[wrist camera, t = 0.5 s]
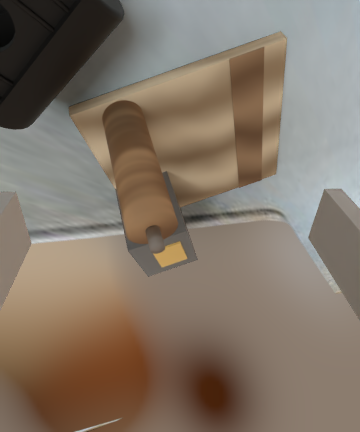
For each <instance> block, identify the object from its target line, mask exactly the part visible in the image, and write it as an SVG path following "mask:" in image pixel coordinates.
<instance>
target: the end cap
mask: <svg viewBox="0 0 360 432" xmlns="http://www.w3.org/2000/svg"><path fill="white" fill-rule="evenodd" d="M123 17H124V10H123V7H122V5H121V3H120V1H119V0H0V127H3V128H7V129H24V128H27V127H29V126H30V125H31V124H33V123H34V121H35V120H36V119H37V118H38V117H39V116H40V114H41V113H42V112H43V111H44V110H45V109H46V108H47V106H48V105H49V104H50V103H51V102H52V101H53V99H54V98H55V97H56V96H57V95H58V94H59V93H60V91H61V90H62V89H63V88H64V87H65V86H66V84H67V83H68V82H69V81H70V80H71V79H72V77H73V76H74V75H75V74H76V73H77V72H78V71H79V69H80V68H81V67H82V66H83V65H84V64H85V62H86V61H87V60H88V59H89V58H90V57H91V56H92V54H93V53H94V52H95V51H96V50H97V49H98V47H99V46H100V45H101V44H102V43H103V42H104V41H105V39H106V38H107V37H108V36H109V35H110V34H111V32H112V31H113V30H114V29H115V28H116V27H117V25H118V24H119V23H120V22H121V21H122V20H123Z"/></svg>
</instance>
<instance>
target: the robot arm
mask: <svg viewBox="0 0 360 432" xmlns="http://www.w3.org/2000/svg"><path fill="white" fill-rule="evenodd" d="M308 238H309V240H310V241H311V243H312V244H313V246H314V248H315V249H316V251H317V253H318V254H319V256H320V257H321V259H322V261H323V262H324V264H325V265H326V267H327V269H328V270H329V272H330V274H331V275H332V277H333V278H334V280H335V282H336V283H337V285H338V286H339V288H340V290H341V291H342V293H343V294H344V296H345V298H346V299H347V301H348V303H349V304H350V306H351V307H352V309H353V311H354V312H355V314H356V316H357V317H358V319H359V320H360V209H359V207H358V206H357V205H356V204H355V203H354V202H353V201H352V200H351V199H350V198H349V197H348V196H347V195H346V193H345V192H344V191H343V190H342V189H324V192H323V195H322V198H321V201H320V204H319V207H318V210H317V213H316V216H315V219H314V222H313V225H312V228H311V231H310V234H309V237H308ZM30 246H31V240H30V237H29V234H28V230H27V227H26V224H25V220H24V217H23V214H22V210H21V207H20V204H19V200H18V197H17V194H16V192H0V310H1V308H2V305H3V303H4V301H5V299H6V297H7V295H8V293H9V290H10V288H11V286H12V284H13V282H14V280H15V277H16V276H17V273H18V271H19V269H20V267H21V265H22V263H23V261H24V258H25V256H26V254H27V252H28V250H29V247H30Z"/></svg>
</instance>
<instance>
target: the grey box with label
mask: <svg viewBox="0 0 360 432" xmlns="http://www.w3.org/2000/svg"><path fill="white" fill-rule="evenodd" d="M162 174H163V177H164V180H165V183H166V187H167V190H168V193H169V196H170V199H171V202H172V205H173V208H174V211H175V215H176V218H177V221H178V227H177V229H176V231H175V232H174V233H173V234H172V235H171V236H169V237H168V238H166V239H164V240H163V242H164V245H165V250H164V251H163V252H161V253H157V254H153V253H151V252H150V248H149V244H138V243H134V242H132V241H130V240H129V239H128V238H127V236H126V232H125V227H124V222H123V217H122V212H121V208H120V203H119V198H118V193H117V189H115V190H116V194H117V199H118V204H119V209H120V214H121V219H122V224H123V229H124V234H125V238H126V243H127V248H128V252H129V253H130V254H131V255H132V257H133V258H134V259H135V260H136V262H137V263H138V264H139V266H140V267H141V268H142V269H143V271H144V272H145V273H146V274H147V276H148V277H149V276H152V275H154V274H157V273H160V272H163V271H166V270H169V269H172V268H175V267H178V266H181V265H183V264H187V263H190V262H192V261H195V260H197V257H196V253H195V250H194V248H193V245H192V241H191V238H190V235H189V233H188V229H187V226H186V223H185V220H184V217H183V215H182V212H181V209H180V206H179V203H178V200H177V197H176V195H175V192H174V189H173V187H172V184H171V181H170V178H169V176H168V173H167V171H165V172H163V173H162Z"/></svg>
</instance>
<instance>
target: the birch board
mask: <svg viewBox="0 0 360 432" xmlns="http://www.w3.org/2000/svg"><path fill="white" fill-rule="evenodd" d="M286 46H287V38H286V37H285V35H284V34H283V33H282V32H281V31H280V32H277V33H275V34H272V35H269V36H266V37H263V38H261V39H258V40H255V41H252V42H249V43H247V44H244V45H241V46H238V47H235V48H233V49H230V50H227V51H224V52H221V53H219V54H216V55H213V56H210V57H207V58H205V59H202V60H199V61H196V62H193V63H191V64H188V65H185V66H182V67H179V68H177V69H174V70H171V71H168V72H165V73H162V74H160V75H157V76H154V77H151V78H148V79H146V80H143V81H140V82H137V83H134V84H132V85H129V86H126V87H123V88H120V89H118V90H115V91H112V92H109V93H106V94H104V95H101V96H98V97H95V98H92V99H90V100H87V101H84V102H81V103H78V104H76V105H73V106H70V107H69V115H70V117H71V119H72V120H73V122H74V124H75V125H76V127H77V128H78V130H79V132H80V133H81V135H82V136H83V138H84V140H85V141H86V143H87V144H88V146H89V148H90V149H91V151H92V152H93V154H94V156H95V157H96V159H97V160H98V162H99V164H100V165H101V167H102V168H103V170H104V172H105V173H106V175H107V176H108V178H109V180H110V181H111V183H112V184H113V186H114V188H115V189H117V188H116V183H115V179H114V174H113V169H112V164H111V159H110V155H109V150H108V145H107V140H106V135H105V130H104V126H103V121H102V116H103V113H104V111H105V109H106V108H107V107H108V106H109V105H110V104H112V103H114V102H116V101H121V100H127V101H132V102H134V103H136V104H137V105H138V106H139V107H140V108H141V109H142V112H143V115H144V118H145V121H146V124H147V127H148V130H149V134H150V137H151V140H152V143H153V146H154V149H155V152H156V155H157V158H158V162H159V165H160V168H161V171H162V173H163V172H165V171H167V173H168V176H169V178H170V181H171V184H172V187H173V189H174V192H175V195H176V197H177V200H178V203H179V206H180V207H183V206H186V205H189V204H191V203H194V202H197V201H200V200H203V199H206V198H209V197H212V196H215V195H217V194H220V193H223V192H226V191H229V190H232V189H235V188H238V187H239V188H240V187H243V186H245V185H248V184H251V183H254V182H257V181H260V180H262V179H264V178H267V177H269V176H272V175H275V174H276V169H277V157H278V144H279V132H280V120H281V107H282V95H283V83H284V71H285V58H286Z"/></svg>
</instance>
